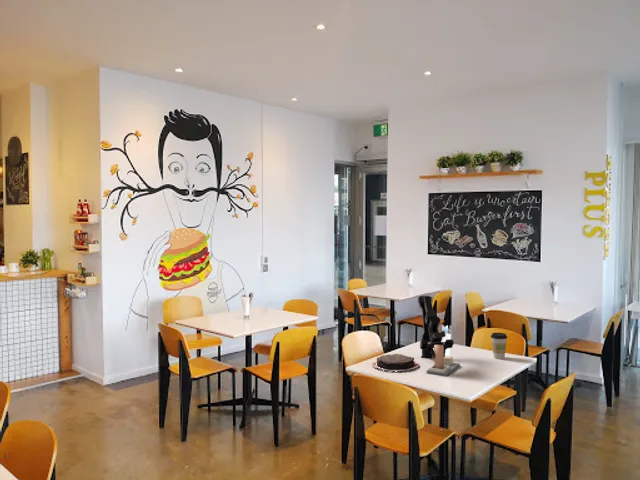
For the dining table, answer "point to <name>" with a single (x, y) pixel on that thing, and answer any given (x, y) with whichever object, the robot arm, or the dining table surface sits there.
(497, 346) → the coffee cup
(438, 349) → the pillar
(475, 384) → the dining table surface
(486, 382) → the dining table surface
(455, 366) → the base plate
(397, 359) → the chocolate cake
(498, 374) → the dining table surface
